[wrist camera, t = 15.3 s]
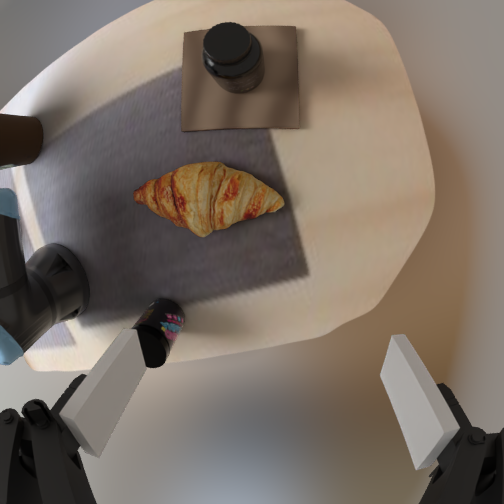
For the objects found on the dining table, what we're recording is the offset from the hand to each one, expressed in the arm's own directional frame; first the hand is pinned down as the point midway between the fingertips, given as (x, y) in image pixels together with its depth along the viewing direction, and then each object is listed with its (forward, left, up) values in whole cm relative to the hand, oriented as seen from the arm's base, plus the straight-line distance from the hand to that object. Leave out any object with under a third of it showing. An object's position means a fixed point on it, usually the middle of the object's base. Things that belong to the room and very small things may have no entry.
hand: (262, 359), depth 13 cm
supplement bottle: (-4, +22, -28) cm, 36 cm away
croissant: (-9, +4, -29) cm, 31 cm away
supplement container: (-17, -15, -29) cm, 37 cm away
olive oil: (-45, +18, -29) cm, 56 cm away
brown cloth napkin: (-4, +22, -29) cm, 36 cm away
